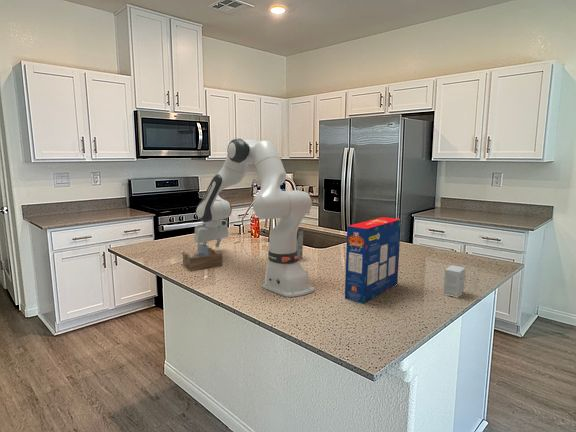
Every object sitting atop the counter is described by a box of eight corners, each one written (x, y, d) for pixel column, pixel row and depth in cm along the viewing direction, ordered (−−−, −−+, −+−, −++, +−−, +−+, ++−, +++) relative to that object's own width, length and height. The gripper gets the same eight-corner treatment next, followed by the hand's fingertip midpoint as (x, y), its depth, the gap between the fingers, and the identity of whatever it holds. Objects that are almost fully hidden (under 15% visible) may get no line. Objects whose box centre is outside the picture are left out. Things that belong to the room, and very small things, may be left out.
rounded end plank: (209, 259, 195) (209, 248, 194) (197, 253, 207) (197, 243, 206) (211, 259, 196) (211, 248, 195) (200, 252, 208) (199, 242, 207)
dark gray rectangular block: (209, 267, 183) (208, 257, 182) (201, 268, 181) (200, 258, 180) (202, 262, 191) (202, 252, 190) (194, 263, 188) (194, 253, 188)
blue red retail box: (379, 280, 166) (383, 216, 161) (397, 284, 160) (401, 219, 156) (344, 298, 145) (347, 225, 140) (363, 304, 140) (366, 228, 135)
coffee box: (281, 259, 198) (281, 228, 195) (287, 256, 203) (287, 226, 201) (297, 261, 193) (298, 230, 191) (303, 258, 199) (303, 228, 196)
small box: (449, 289, 155) (451, 264, 153) (463, 292, 152) (465, 267, 150) (442, 295, 149) (444, 269, 147) (457, 298, 145) (460, 272, 144)
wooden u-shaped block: (222, 266, 184) (221, 253, 183) (190, 271, 176) (190, 258, 175) (211, 259, 195) (211, 248, 194) (181, 264, 187) (181, 252, 186)
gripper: (198, 226, 193) (199, 252, 196) (229, 221, 208) (230, 245, 211) (191, 224, 197) (192, 250, 200) (222, 219, 212) (223, 243, 215)
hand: (211, 248), depth 205 cm, fingers open, 6 cm apart
